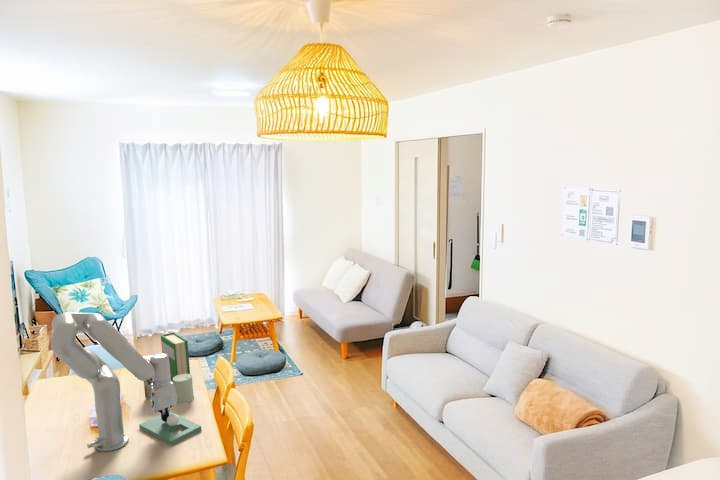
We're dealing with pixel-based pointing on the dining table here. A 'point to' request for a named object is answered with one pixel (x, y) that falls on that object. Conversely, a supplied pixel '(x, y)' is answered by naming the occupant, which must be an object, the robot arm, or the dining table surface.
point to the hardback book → (176, 353)
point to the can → (183, 388)
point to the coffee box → (148, 388)
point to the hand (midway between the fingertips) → (165, 420)
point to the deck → (170, 429)
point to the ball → (172, 419)
